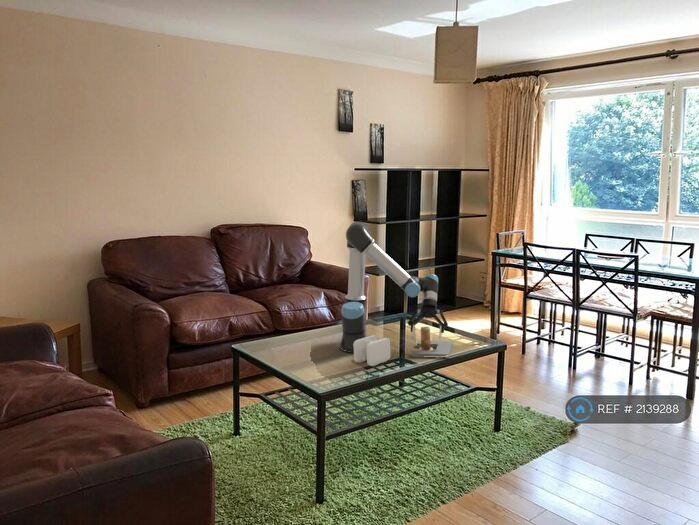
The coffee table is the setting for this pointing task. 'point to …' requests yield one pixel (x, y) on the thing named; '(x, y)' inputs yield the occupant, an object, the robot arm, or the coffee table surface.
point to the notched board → (441, 347)
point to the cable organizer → (372, 350)
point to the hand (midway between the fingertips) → (426, 337)
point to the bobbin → (425, 339)
